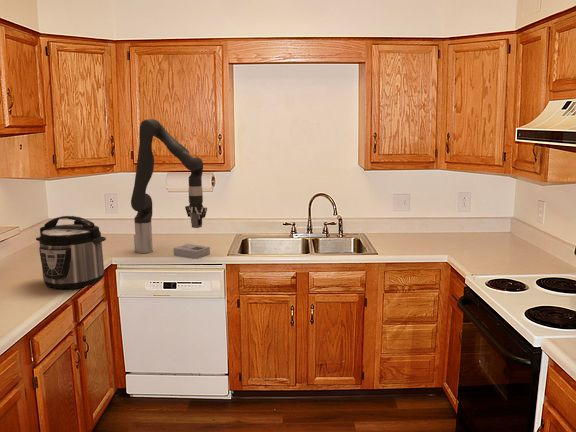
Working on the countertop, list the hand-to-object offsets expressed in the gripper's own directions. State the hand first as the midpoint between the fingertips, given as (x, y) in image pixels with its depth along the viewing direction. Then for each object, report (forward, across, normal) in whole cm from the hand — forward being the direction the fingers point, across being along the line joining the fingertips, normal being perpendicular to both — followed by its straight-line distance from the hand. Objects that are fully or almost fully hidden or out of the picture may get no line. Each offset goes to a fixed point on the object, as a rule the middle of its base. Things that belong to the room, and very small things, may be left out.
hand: (196, 224), depth 310 cm
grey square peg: (+1, 0, 0) cm, 1 cm away
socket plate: (+17, -4, 0) cm, 18 cm away
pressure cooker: (+18, -20, -68) cm, 73 cm away
